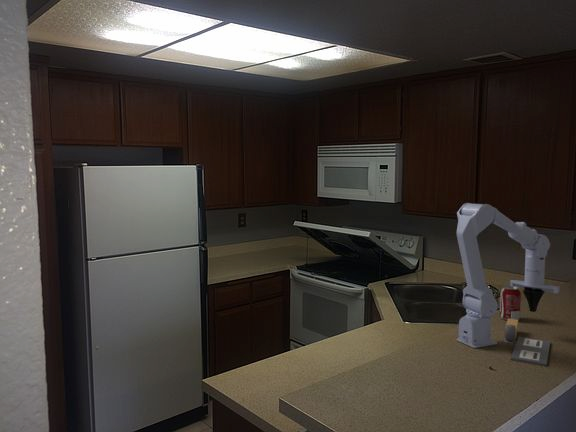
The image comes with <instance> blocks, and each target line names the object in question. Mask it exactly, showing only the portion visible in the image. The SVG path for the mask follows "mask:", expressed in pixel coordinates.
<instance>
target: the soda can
mask: <svg viewBox="0 0 576 432" xmlns="http://www.w3.org/2000/svg"><path fill="white" fill-rule="evenodd" d="M521 296H522V292H521V291H520V287H515V286H514V287H512V286H510V285H503V286H502V288H501V290H500V298H499V299H500V300H499V303H500V305H499V306H500V307H499V317H500V318H501V319H502V320H504V321H507V320H508V318H509V319H517V320H518V321H519V320H520V319H521V301H522V300H521V299H522V297H521Z"/></svg>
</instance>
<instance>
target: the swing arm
mask: <svg viewBox="0 0 576 432" xmlns="http://www.w3.org/2000/svg"><path fill="white" fill-rule="evenodd" d="M518 330H519V320H517V319H509V318H508V320H506V324H505V327H504V339H506V340H508V341H515V340H517V334H518V332H519V331H518Z"/></svg>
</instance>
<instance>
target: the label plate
mask: <svg viewBox="0 0 576 432" xmlns="http://www.w3.org/2000/svg"><path fill="white" fill-rule="evenodd" d="M502 341H503V342H504V343H506V344H512V345H514V344H515V345H514V349H513V351H512V354H511V356H510V361H515V362H522V363H527V364H533V365H538V366H545V367H547V366H548V359H549V354H550V353H549V352H550V347H551V346H550V345H551V341H550V340H545V339H544V340H543V339H539V338H538V339H537V338H532V337H524V336H518V337H517V339H515V341H508V340H506V339H505V338H503V340H502Z"/></svg>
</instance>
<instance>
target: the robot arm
mask: <svg viewBox="0 0 576 432" xmlns="http://www.w3.org/2000/svg"><path fill="white" fill-rule="evenodd" d="M456 216H457V221H458V222H457V228H456V237H457V238H456V239H457V243H458V247H459V252H460V253H459V254H460V256H461V257H460V258H461V262H462V266H463V271H464V277H465V282H466V287H464V288H463V289H462V294H463V296H462V306H463V307H464V309H465V313H466V314H465V315H464V316H462V317H461V318H460V319H459V322H458V338H456V341H458V342H459V343H462V344H465V345H467V346H469V347H471V348H474V349H478V348H483V347H488V346H493V345H498V342H497V341H495V340H492V323H493V322H492V318H494V315H495V314H496V313H497V311H498V309H499V308H498V306H499V304H498V301H497V300H496V298H495V296H494V293H493V291H492V290H491V289H490V287H489V286H488V285H487V283H486V282H487V281H486V278H485V273H484V269H483V262H482V258H481V254H480V249H479V243H478V238H477V237H478V235H479V234H480V233H481V232H482V231H484V230H485V229H486V228H487V227H488V226H490V224H494V225H496V226H497V227H499V228H501V229H503V230H505V231H506V232H507V234H508V237H510V239H512V240H514V241H515V242H518V243H519V244H520V245H521V247H522V249H524V250H525V259H524V261H525V262H524V280H516V279H511V280H510V281H509V283H510V284H509V286H512V287H514V286H515V287H519V288H521V289H522V288H523V290H522V292H523V295H524V296H525V298H526V301H527V304H528V308H529V312H532V313H535V312H537V309H538V306H539V303H540V301H541V299H542V297H543V295H544V294H545V292H548V293H553V294H559V293H560V286H557V285H553V284H547V283H545V272H546V271H545V269H546V258H547V256H548V251H549V249H550V247H551V242H550V239H549V238H548V236H547V235H545V234H540V233H538V232H537V230H536V229H533V228H531V227H529V226H527V223H526V222H525V221H516V222H514V221H513V220H511V219H510V218H509V217H507V216H506V215H504V214H503V213H502V212H501V211H499V210H498V209H497V208H496V207H494V206H492V205H491V204H488V203H484V204H482V203H472V202H465V203H464V204H462V206H461V207H460V208H459V210H458V211H457V212H456Z"/></svg>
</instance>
